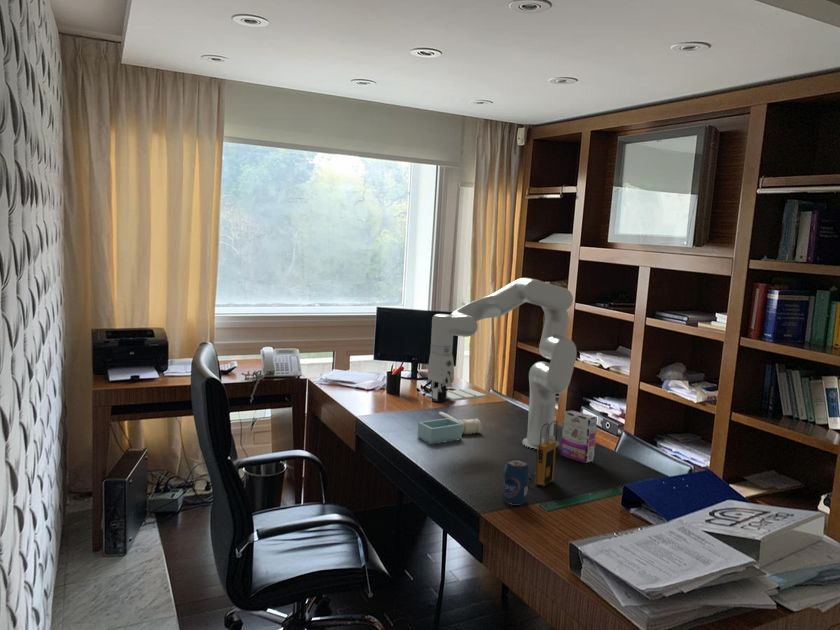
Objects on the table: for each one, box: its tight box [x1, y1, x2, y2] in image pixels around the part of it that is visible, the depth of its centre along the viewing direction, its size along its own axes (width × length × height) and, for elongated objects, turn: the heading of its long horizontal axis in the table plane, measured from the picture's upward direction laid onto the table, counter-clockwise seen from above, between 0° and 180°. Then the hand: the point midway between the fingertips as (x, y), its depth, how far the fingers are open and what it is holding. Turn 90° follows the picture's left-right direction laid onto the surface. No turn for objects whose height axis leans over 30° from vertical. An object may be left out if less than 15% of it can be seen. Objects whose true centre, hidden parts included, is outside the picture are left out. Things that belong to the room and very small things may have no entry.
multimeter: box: [534, 420, 558, 489], centre depth 200 cm, size 15×10×20 cm
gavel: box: [438, 411, 483, 435], centre depth 259 cm, size 10×6×32 cm
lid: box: [431, 387, 487, 402], centre depth 224 cm, size 10×19×4 cm, turn 123°
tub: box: [417, 418, 463, 445], centre depth 238 cm, size 9×14×6 cm, turn 123°
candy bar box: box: [560, 409, 598, 463], centre depth 222 cm, size 11×5×16 cm, turn 40°
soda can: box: [502, 458, 530, 504], centre depth 183 cm, size 7×7×12 cm
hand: (438, 401), depth 220 cm, fingers closed on lid, 3 cm apart
